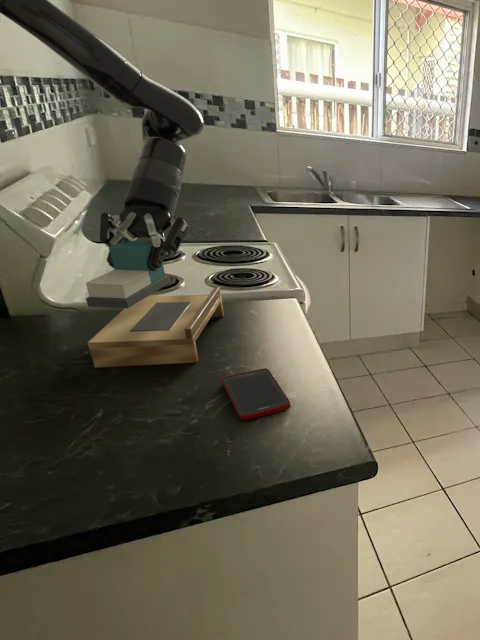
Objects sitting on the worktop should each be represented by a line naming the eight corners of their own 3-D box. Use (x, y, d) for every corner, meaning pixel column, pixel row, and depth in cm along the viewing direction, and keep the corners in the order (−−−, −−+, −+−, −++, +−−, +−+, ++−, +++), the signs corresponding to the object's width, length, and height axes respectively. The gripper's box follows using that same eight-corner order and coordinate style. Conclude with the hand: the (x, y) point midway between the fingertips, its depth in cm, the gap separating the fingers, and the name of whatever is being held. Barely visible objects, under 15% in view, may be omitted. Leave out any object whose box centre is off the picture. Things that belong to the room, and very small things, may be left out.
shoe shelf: (94, 367, 85) (84, 332, 82) (143, 317, 106) (135, 287, 103) (197, 362, 90) (190, 328, 87) (224, 315, 110) (219, 286, 108)
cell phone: (267, 371, 89) (267, 367, 88) (292, 408, 79) (292, 403, 78) (221, 382, 84) (220, 377, 84) (241, 422, 74) (240, 417, 74)
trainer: (128, 308, 79) (116, 261, 75) (87, 306, 78) (73, 259, 74) (171, 281, 91) (162, 240, 88) (137, 280, 90) (127, 238, 87)
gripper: (100, 173, 85) (72, 255, 80) (186, 179, 88) (166, 260, 82) (125, 198, 92) (101, 275, 87) (204, 203, 95) (186, 279, 89)
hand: (133, 267), depth 84 cm, fingers closed on trainer, 5 cm apart
